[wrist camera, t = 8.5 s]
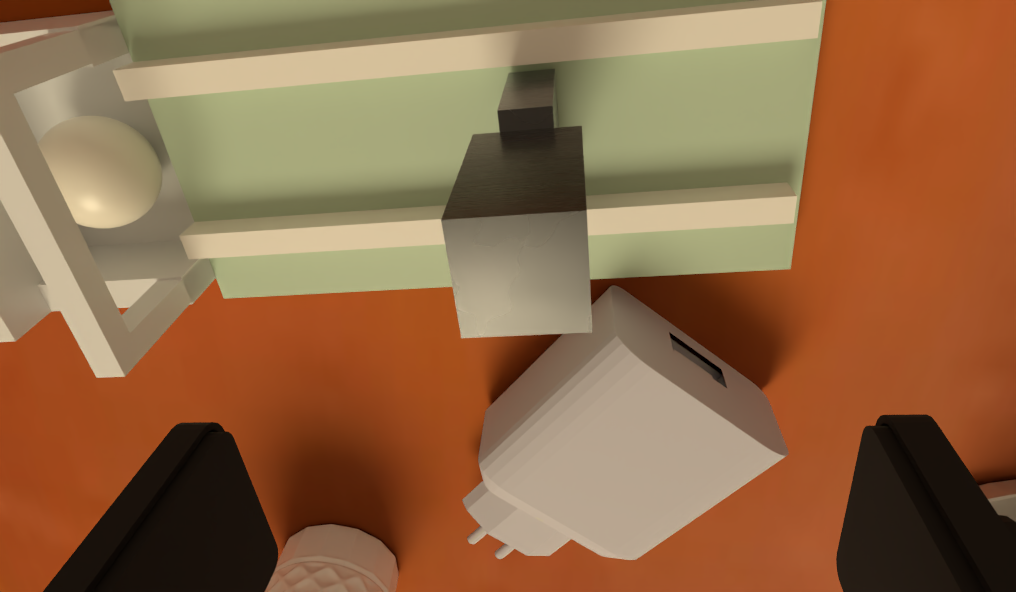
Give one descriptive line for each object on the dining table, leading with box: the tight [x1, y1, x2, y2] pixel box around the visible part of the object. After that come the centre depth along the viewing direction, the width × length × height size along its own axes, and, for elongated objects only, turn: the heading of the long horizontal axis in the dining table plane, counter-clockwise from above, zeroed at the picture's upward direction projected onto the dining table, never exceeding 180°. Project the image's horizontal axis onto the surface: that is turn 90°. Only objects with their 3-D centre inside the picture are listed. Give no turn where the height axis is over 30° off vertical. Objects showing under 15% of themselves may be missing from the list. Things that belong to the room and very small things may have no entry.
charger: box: [462, 285, 788, 560], centre depth 30 cm, size 5×9×15 cm
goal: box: [0, 10, 216, 378], centre depth 23 cm, size 7×10×8 cm
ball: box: [38, 116, 162, 228], centre depth 24 cm, size 4×4×4 cm
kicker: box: [441, 69, 592, 338], centre depth 19 cm, size 3×4×10 cm
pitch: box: [109, 0, 826, 298], centre depth 23 cm, size 22×12×3 cm, turn 96°
